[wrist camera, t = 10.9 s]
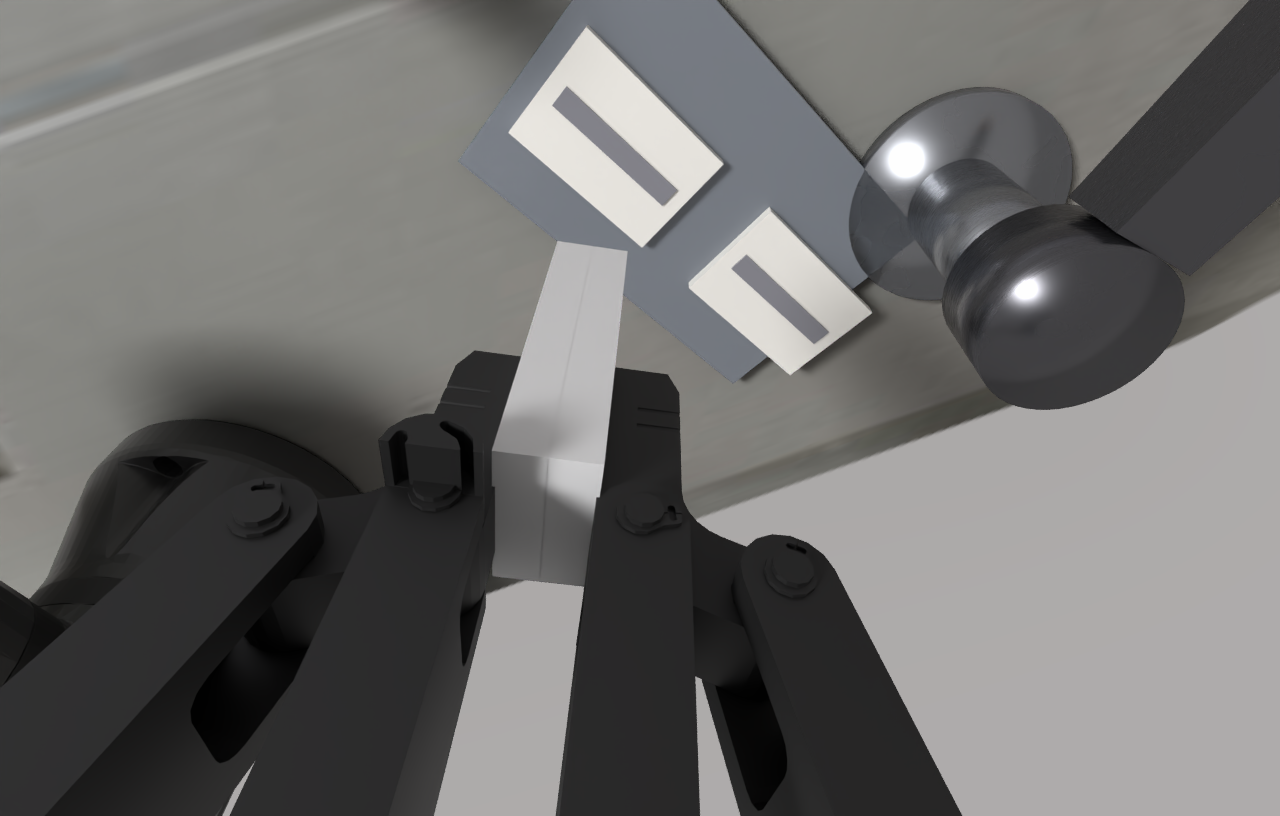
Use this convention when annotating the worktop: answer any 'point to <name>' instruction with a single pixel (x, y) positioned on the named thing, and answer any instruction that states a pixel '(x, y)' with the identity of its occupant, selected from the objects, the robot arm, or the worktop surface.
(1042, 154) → the round pedestal stand
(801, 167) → the label board
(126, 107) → the worktop surface
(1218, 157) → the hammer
